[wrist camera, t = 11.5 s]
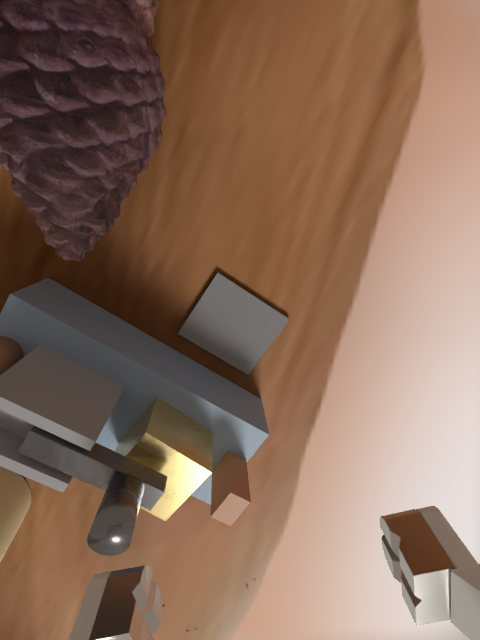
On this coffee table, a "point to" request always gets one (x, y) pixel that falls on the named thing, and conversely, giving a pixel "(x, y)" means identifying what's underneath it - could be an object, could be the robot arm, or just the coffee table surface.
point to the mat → (233, 324)
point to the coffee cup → (12, 506)
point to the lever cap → (170, 452)
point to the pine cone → (78, 111)
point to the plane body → (112, 390)
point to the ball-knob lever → (102, 485)
